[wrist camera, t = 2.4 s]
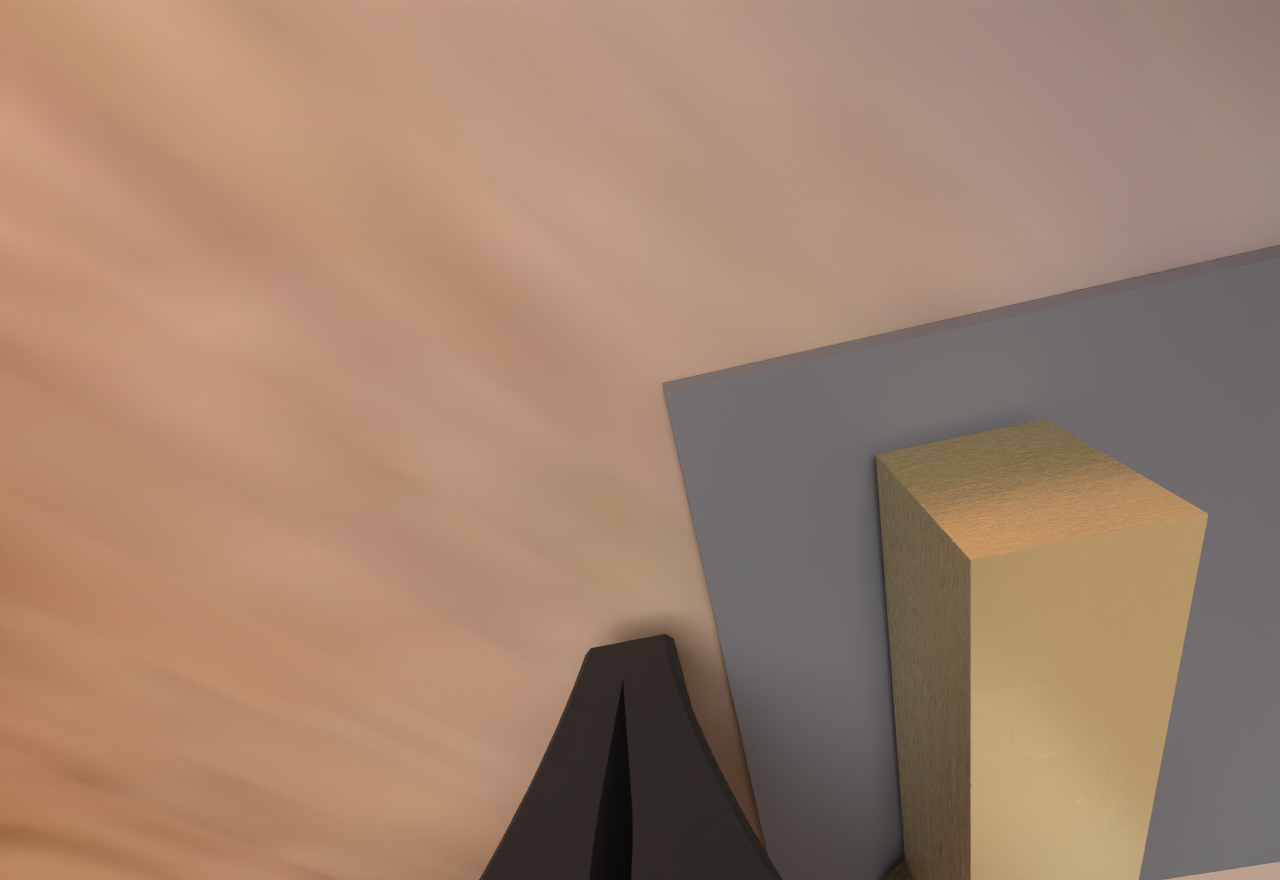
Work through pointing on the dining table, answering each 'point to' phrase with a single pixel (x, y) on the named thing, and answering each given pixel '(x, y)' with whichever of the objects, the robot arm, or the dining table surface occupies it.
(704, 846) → the robot arm
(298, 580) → the dining table surface
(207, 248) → the dining table surface
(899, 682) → the swing latch
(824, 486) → the plate
